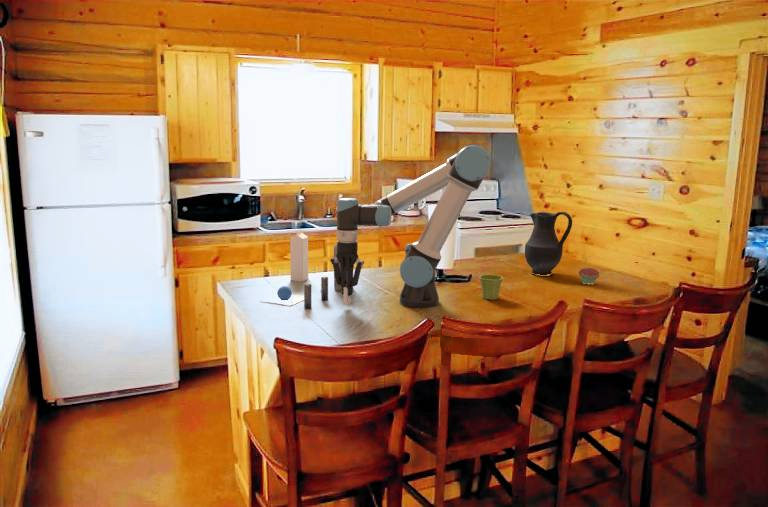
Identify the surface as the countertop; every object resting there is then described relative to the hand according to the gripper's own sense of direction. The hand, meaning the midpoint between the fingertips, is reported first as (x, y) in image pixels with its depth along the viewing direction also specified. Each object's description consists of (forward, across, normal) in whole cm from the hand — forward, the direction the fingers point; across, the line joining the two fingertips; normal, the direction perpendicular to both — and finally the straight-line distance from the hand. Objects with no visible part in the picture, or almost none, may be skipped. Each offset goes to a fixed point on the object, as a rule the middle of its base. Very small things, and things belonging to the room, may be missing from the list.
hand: (347, 303), depth 228 cm
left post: (+2, -13, -6) cm, 15 cm away
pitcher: (+2, +57, +91) cm, 107 cm away
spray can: (+2, -14, +24) cm, 28 cm away
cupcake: (+2, +77, +82) cm, 113 cm away
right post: (+2, -13, +6) cm, 15 cm away
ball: (-1, -27, -1) cm, 27 cm away
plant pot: (+2, +44, +39) cm, 59 cm away
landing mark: (+2, -27, 0) cm, 27 cm away
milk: (+2, -39, +30) cm, 49 cm away
